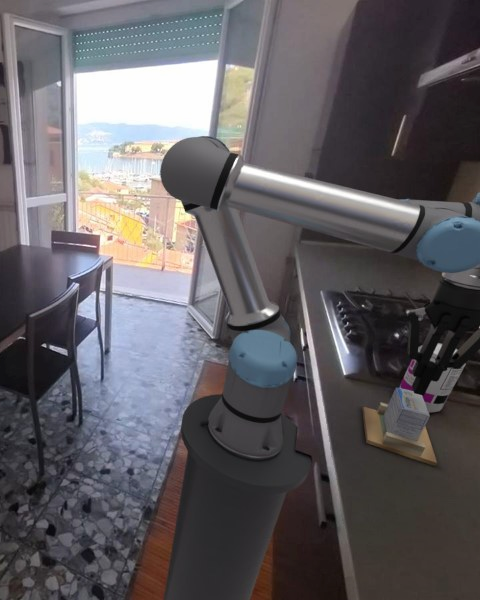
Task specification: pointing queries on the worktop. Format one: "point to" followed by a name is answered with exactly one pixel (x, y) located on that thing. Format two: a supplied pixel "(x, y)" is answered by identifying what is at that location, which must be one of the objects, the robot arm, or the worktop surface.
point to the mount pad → (396, 437)
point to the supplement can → (434, 384)
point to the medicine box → (406, 414)
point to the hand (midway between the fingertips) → (417, 390)
